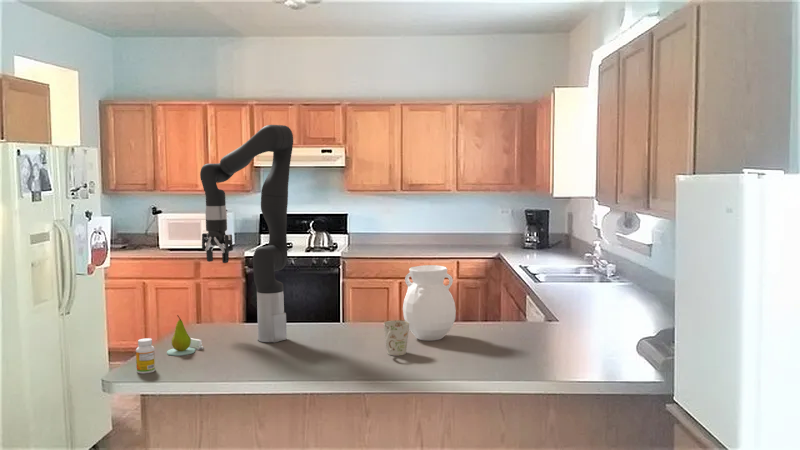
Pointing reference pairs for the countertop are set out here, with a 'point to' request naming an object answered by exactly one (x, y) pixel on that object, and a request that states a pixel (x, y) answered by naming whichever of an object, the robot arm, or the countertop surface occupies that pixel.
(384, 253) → the countertop surface
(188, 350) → the pad
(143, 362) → the supplement bottle
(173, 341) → the fruit
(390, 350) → the mug
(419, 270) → the white handled vase
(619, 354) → the countertop surface
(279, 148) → the robot arm
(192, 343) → the rail
